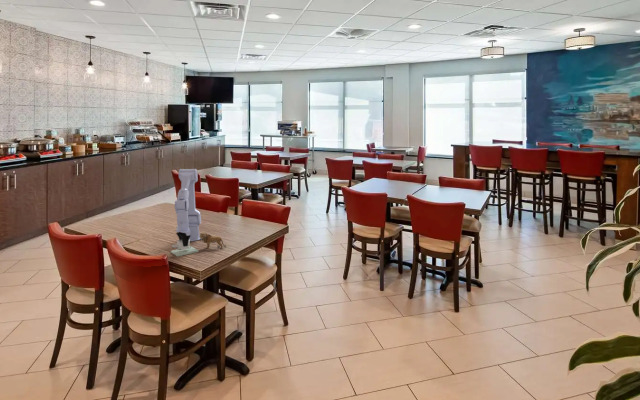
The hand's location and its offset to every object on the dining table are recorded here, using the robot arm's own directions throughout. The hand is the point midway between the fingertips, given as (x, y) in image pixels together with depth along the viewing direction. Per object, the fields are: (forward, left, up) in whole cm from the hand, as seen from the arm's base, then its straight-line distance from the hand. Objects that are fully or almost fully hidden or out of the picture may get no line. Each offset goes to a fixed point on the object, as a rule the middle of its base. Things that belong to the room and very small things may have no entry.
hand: (184, 245), depth 220 cm
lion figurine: (+2, +15, -4) cm, 16 cm away
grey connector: (0, -2, -2) cm, 2 cm away
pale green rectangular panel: (0, 0, -4) cm, 4 cm away
